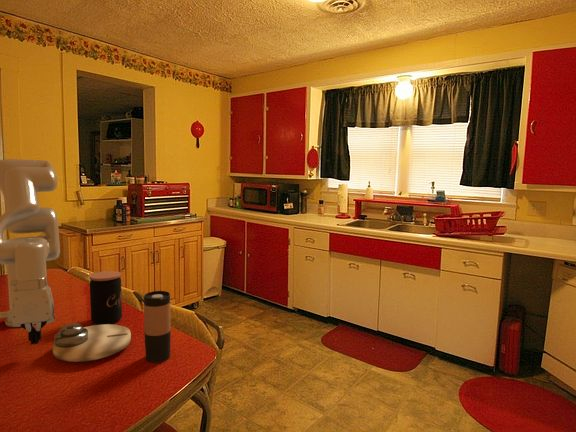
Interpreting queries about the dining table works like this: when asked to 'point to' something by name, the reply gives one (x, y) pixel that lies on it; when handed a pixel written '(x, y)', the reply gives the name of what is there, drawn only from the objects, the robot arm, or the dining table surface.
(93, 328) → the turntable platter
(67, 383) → the dining table surface
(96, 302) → the coffee jar
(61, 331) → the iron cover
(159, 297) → the travel mug
